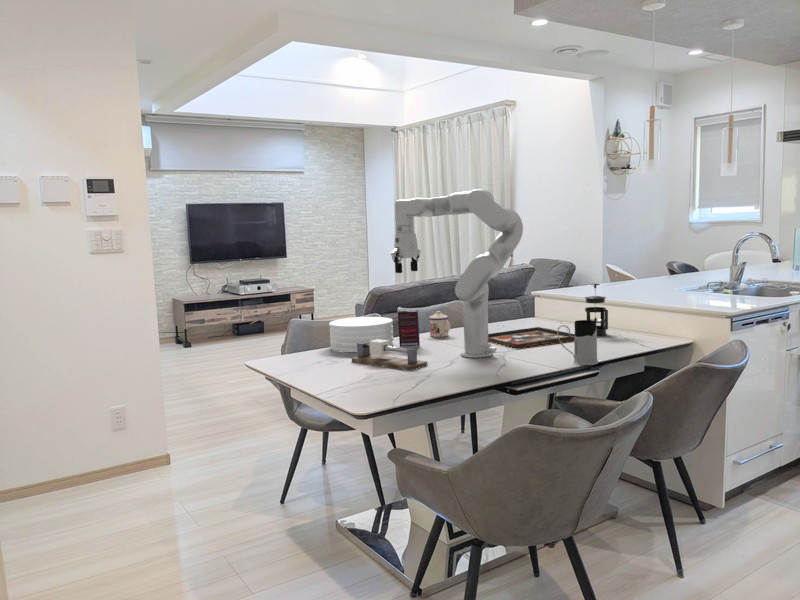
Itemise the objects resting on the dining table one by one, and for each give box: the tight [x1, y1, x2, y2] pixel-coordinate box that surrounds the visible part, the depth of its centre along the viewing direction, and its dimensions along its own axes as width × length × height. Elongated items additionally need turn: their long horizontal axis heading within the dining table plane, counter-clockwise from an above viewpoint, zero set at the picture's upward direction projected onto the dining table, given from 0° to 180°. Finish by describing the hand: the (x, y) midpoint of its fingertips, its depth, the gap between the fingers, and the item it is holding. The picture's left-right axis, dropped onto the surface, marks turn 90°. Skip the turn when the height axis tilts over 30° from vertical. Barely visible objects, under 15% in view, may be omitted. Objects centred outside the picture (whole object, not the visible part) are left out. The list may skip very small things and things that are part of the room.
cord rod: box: [356, 342, 418, 364], centre depth 241 cm, size 28×4×6 cm, turn 49°
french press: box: [584, 283, 609, 337], centre depth 283 cm, size 12×9×23 cm
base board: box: [351, 354, 428, 371], centre depth 241 cm, size 30×10×2 cm, turn 49°
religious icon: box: [488, 326, 575, 349], centre depth 280 cm, size 38×35×3 cm
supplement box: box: [397, 309, 421, 349], centre depth 273 cm, size 9×5×16 cm, turn 84°
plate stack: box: [328, 316, 395, 353], centre depth 279 cm, size 28×28×12 cm
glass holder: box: [556, 319, 599, 366], centre depth 229 cm, size 9×14×15 cm, turn 80°
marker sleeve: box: [369, 339, 391, 356], centre depth 244 cm, size 6×5×5 cm
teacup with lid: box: [428, 310, 451, 338], centre depth 298 cm, size 12×9×12 cm
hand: (406, 272), depth 259 cm, fingers open, 9 cm apart
